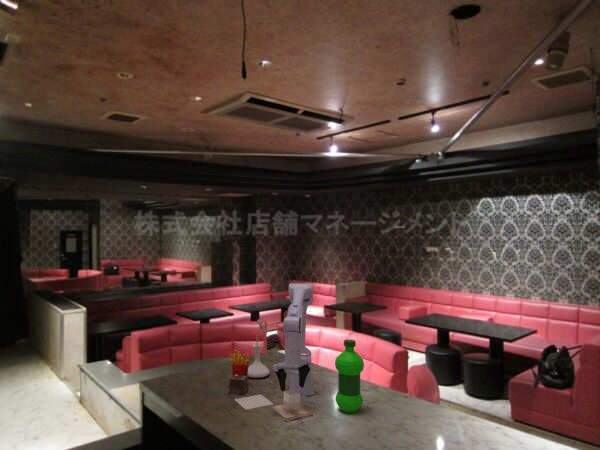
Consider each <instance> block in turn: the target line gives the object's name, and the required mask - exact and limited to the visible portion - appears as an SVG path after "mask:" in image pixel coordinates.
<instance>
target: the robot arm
mask: <svg viewBox="0 0 600 450" xmlns="http://www.w3.org/2000/svg"><path fill="white" fill-rule="evenodd" d="M288 297H289V301H290V305H289V306H288V310H287V314H286V317H284V319H283V337H284V361H282V362H281V361H280V362H279V363H275V364H273V365H272V366H273V367H272V368H273V369H272V370H273V371H274V373H275V375H276V377H277V381H278V383H279V389H280V391H282V392H284V391H286V381H287V380H286V378H287V374H288V373H289V390H293V389H295V390H296V391H298V392H299V393H300V395H303V396H305V397H307V396H311V395H315V394H316V392H315V376H314V372H313V371H312V352H311V350H310V349H309V348H308V347H307V346H306V332H307V331H306V328H307V327H306V325H307V310H308V307H309V306H310V305H312V304H313V299H314V298H313V297H314V285H313V284H312V283H296V282H295V283H293V282H290V283H289V284H288ZM285 370H288V373H287V372H286V371H285Z"/></svg>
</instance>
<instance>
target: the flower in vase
mask: <svg viewBox="0 0 600 450" xmlns="http://www.w3.org/2000/svg"><path fill="white" fill-rule="evenodd" d="M257 325H258V326H259V328H258V331H256V335H255V339H256V340H255V343H254V344H252V345H251V347H252V348H253V350H254V361H253V362H252V363H251V364H249V365H248V375H247V376H249V377H250V378H258V379H260V378H264V377H267V376H268V375H269V374H270V369H269V368H268V367H267V366H266V365H265V364H263V363H262V361H261V350H262V348H263V347H264V344H262V343H258V342H260V341H261V339H262V338H258V334H259V332H260V330H261V331H262V332H263V334H265V335H267V334H268V332H267V329H266V328H265V325H264V324H263V322H262V320H260V319H257Z"/></svg>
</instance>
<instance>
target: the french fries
mask: <svg viewBox="0 0 600 450" xmlns="http://www.w3.org/2000/svg"><path fill="white" fill-rule="evenodd" d="M248 356H250V354H249V353H246V354H245V353H244V354H243V356H242V353H241V351H239V350H237V349H234V352H233V354H232V353H229V354H228V357H230V358H231V359H230V362H231V363H232V365H231V368H232V369H231V370H232V371H231V372H232V377H233V376H234V375H246V376H247V375H248V367H249V366H250V360H249V359H248V358H247V357H248Z"/></svg>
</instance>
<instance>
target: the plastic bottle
mask: <svg viewBox="0 0 600 450" xmlns="http://www.w3.org/2000/svg"><path fill="white" fill-rule="evenodd" d="M343 346H344V347H345V348H344V350H343V351H342V352H340V354H338V356H336V358H335V361H334V365H335V366H334V367H335V369H336V370H337V372H338V374H337V375H338V386H337V390H338V391H337V393H336V395H335V402H336V403H335V404H336V405H337V406H338V407H339V409H340V410H341V411H342V412H344V413H346V414H353V412H354V413H356V411H358V410H359V409H360V408H361V406H362V405H363V402H364V401H363V400H364V399H363V396H362V394H361V373H362V372H363V371H364V368H365V362H364V359H363V357H362V356H361V355H359V354H358V352H356V351H355V347H356V340H354V339H344V340H343Z"/></svg>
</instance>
